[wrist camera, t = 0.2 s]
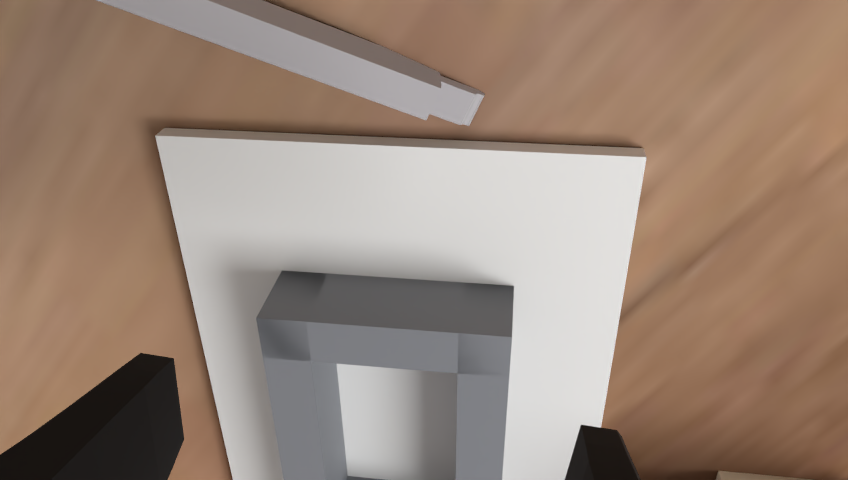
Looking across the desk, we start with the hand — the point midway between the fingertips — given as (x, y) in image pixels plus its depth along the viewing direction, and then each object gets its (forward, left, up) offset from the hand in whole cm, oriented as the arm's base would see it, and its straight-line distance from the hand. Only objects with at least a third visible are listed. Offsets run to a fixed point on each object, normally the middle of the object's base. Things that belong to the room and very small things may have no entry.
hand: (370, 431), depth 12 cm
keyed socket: (-9, +1, -10) cm, 13 cm away
